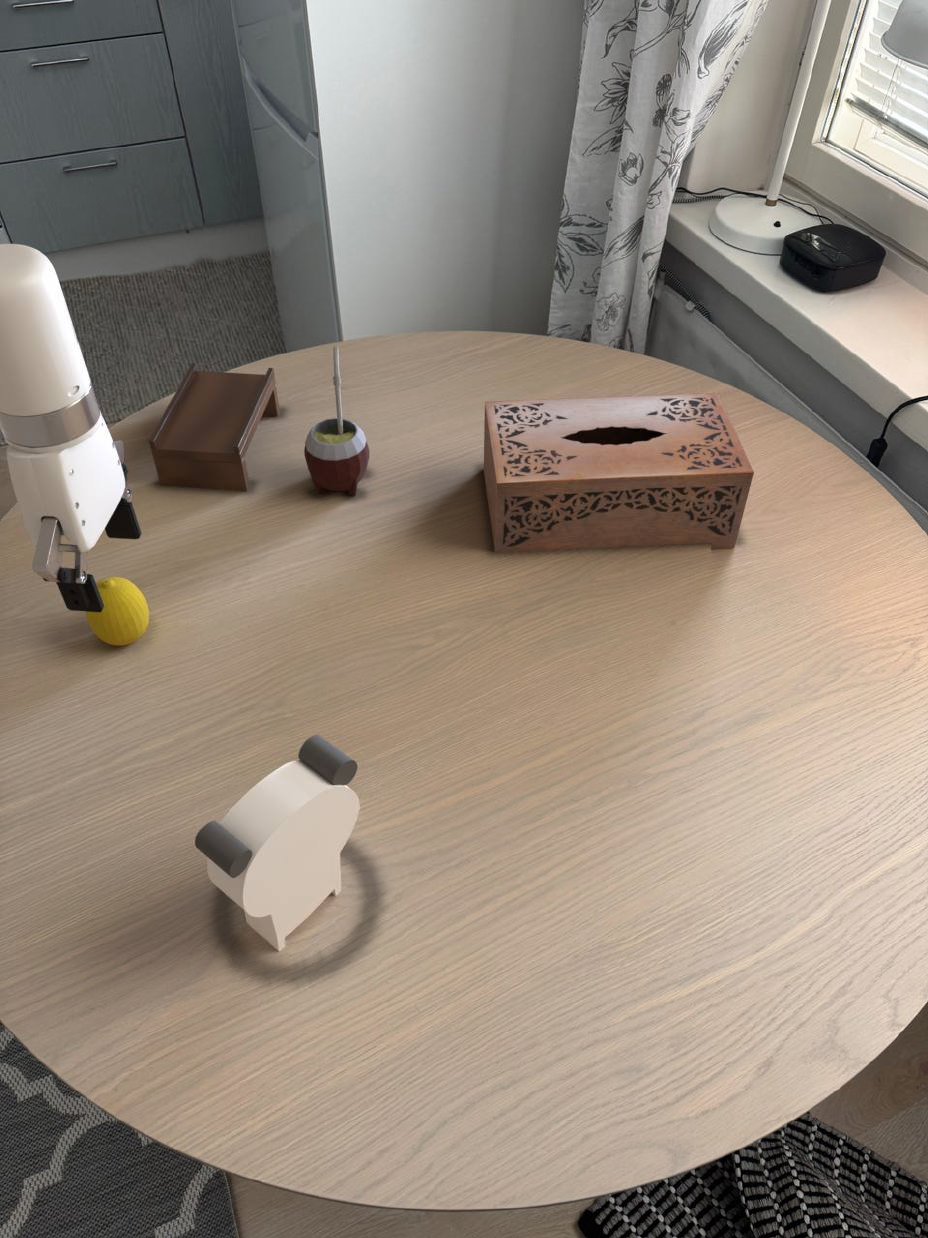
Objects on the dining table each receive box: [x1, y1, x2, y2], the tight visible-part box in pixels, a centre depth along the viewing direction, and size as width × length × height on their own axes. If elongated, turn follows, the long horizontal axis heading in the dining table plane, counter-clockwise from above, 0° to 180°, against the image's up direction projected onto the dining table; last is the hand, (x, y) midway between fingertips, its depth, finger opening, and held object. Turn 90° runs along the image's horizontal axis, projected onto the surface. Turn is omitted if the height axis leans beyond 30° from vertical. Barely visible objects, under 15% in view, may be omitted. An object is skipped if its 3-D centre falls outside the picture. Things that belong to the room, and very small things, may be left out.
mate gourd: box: [303, 345, 370, 497], centre depth 108 cm, size 8×8×15 cm
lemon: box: [85, 576, 150, 647], centre depth 94 cm, size 6×6×8 cm
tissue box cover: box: [483, 392, 755, 553], centre depth 107 cm, size 26×14×10 cm, turn 94°
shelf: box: [148, 362, 281, 492], centre depth 116 cm, size 10×16×7 cm, turn 174°
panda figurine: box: [194, 734, 361, 952], centre depth 72 cm, size 12×11×15 cm
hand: (106, 571), depth 90 cm, fingers open, 9 cm apart
